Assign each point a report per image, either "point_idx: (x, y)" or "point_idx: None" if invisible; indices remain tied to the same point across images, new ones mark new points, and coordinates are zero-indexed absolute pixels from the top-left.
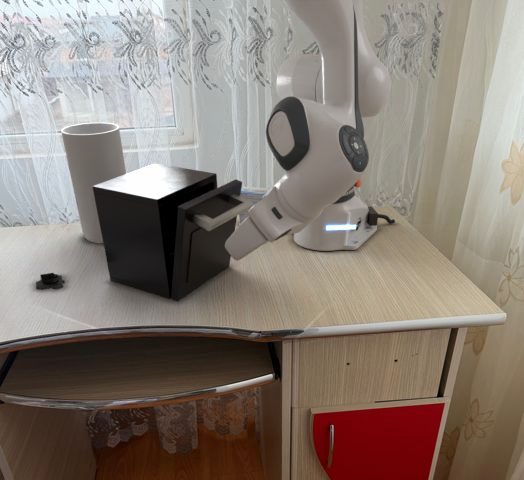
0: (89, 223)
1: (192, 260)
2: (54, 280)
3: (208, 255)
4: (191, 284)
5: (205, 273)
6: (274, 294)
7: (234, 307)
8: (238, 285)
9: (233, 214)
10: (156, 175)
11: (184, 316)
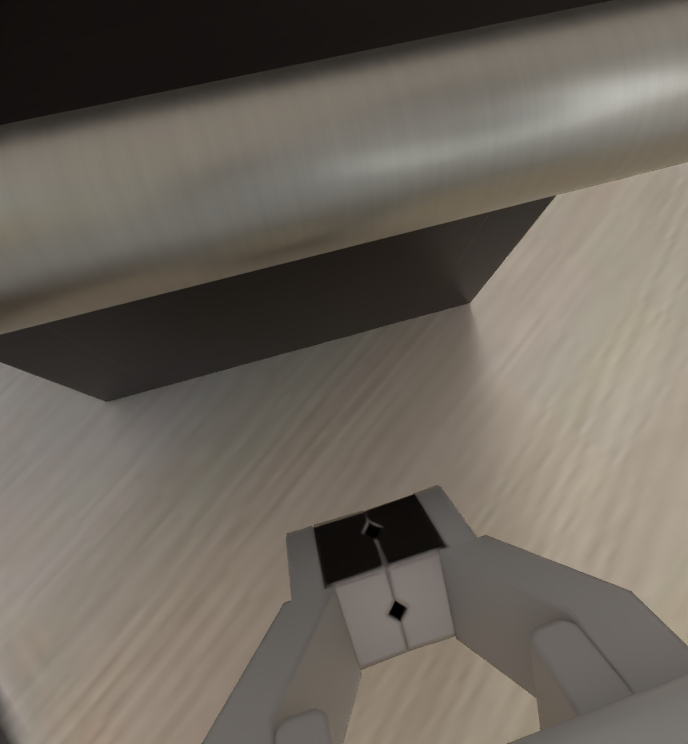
0: None
1: (94, 327)
2: None
3: (277, 297)
4: (183, 365)
5: (287, 333)
6: (488, 685)
7: (232, 636)
8: (398, 460)
9: (316, 218)
10: None
11: (23, 527)
